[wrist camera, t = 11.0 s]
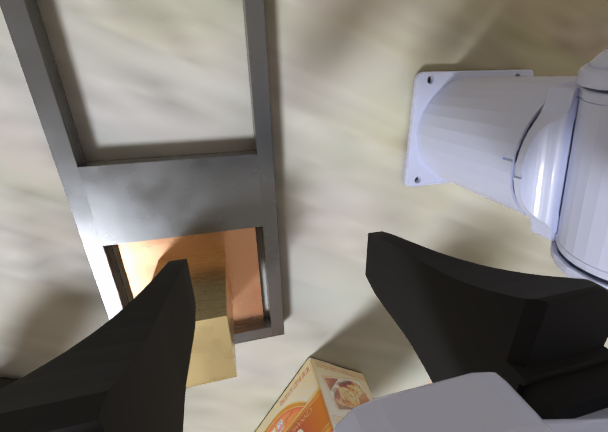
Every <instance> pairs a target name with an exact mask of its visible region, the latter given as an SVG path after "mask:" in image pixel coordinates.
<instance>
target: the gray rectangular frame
mask: <svg viewBox="0 0 608 432" xmlns="http://www.w3.org/2000/svg"><path fill="white" fill-rule="evenodd" d="M0 6H1V9H2V12H3V15H4V18H5V21H6V24H7V27H8V29H9V32H10V35H11V38H12V41H13V44H14V47H15V50H16V52H17V55H18V58H19V61H20V64H21V67H22V70H23V73H24V75H25V78H26V81H27V84H28V87H29V90H30V93H31V96H32V98H33V101H34V104H35V107H36V110H37V113H38V116H39V118H40V121H41V124H42V127H43V130H44V133H45V136H46V139H47V141H48V144H49V147H50V150H51V153H52V156H53V159H54V162H55V164H56V167H57V170H58V173H59V176H60V179H61V182H62V185H63V187H64V190H65V193H66V196H67V199H68V202H69V205H70V208H71V210H72V213H73V216H74V219H75V222H76V225H77V228H78V231H79V233H80V236H81V239H82V242H83V245H84V248H85V251H86V253H87V256H88V259H89V262H90V265H91V268H92V271H93V274H94V276H95V279H96V282H97V285H98V288H99V291H100V294H101V297H102V299H103V302H104V305H105V308H106V311H107V314H108V317H109V320H110V319H112V318H113V317H114V316H115V315H116V314H118V313H119V312H120V311H121V310H122V309H123V308H124V307H125V306H126V305H127V304H128V303H129V302H128V298H127V295H126V292H125V289H124V285H123V282H122V279H121V276H120V272H119V269H118V266H117V263H116V259H115V256H114V253H113V250H112V246H111V245H115V244H118V248H119V251H120V254H121V258H122V261H123V264H124V268H125V271H126V274H127V278H128V281H129V285H130V288H131V291H132V295H133V298H135V297H136V296H137V295H138V294H139V293H140V292H141V291H142V290H143V289H144V288H145V287H146V286H147V285H148V284H149V283H150V282H151V280H152V277H153V274H154V271H155V268H156V265H157V262H158V260H162V259H169V258H176V257H183V256H190V255H197V254H204V253H212V252H219V251H225V254H226V261H227V268H228V274H229V281H230V288H231V295H232V302H233V320H234V338H235V344H237V343H242V342H247V341H252V340H257V339H262V338H267V337H272V336H278V335H283V334H284V322H283V305H282V289H281V273H280V256H279V240H278V224H277V208H276V191H275V175H274V159H273V143H272V126H271V110H270V94H269V78H268V61H267V45H266V29H265V13H264V0H243V10H244V22H245V34H246V45H247V57H248V69H249V81H250V93H251V105H252V117H253V129H254V140H255V150H252V151H238V152H224V153H210V154H196V155H181V156H167V157H153V158H139V159H125V160H111V161H97V162H85V159H84V155H83V152H82V149H81V146H80V142H79V139H78V136H77V133H76V129H75V126H74V123H73V120H72V116H71V113H70V110H69V107H68V103H67V100H66V97H65V94H64V90H63V87H62V84H61V81H60V77H59V74H58V71H57V68H56V64H55V61H54V58H53V55H52V51H51V48H50V45H49V42H48V38H47V35H46V32H45V29H44V25H43V22H42V19H41V16H40V12H39V9H38V6H37V3H36V0H0ZM261 226H262V235H263V247H264V259H265V271H266V283H267V295H268V307H269V317H267V318H264V317H263V306H262V295H261V285H260V274H259V263H258V253H257V242H256V231H255V227H261Z"/></svg>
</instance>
